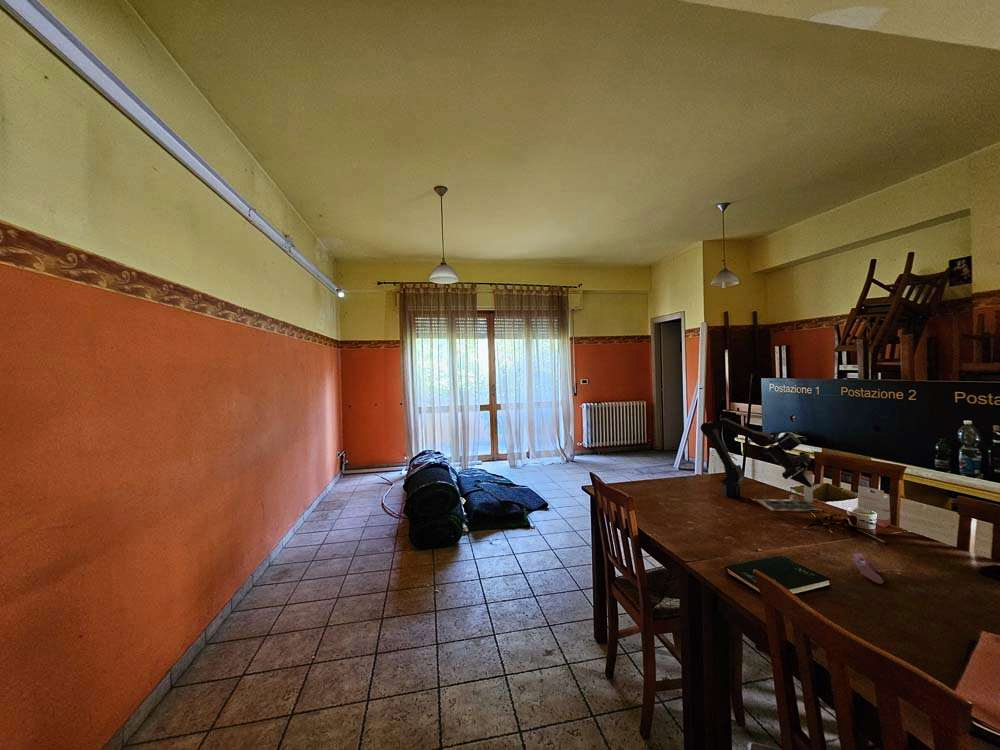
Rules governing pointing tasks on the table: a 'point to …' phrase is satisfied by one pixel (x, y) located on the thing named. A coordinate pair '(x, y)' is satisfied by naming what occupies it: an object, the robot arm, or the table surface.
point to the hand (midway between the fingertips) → (812, 486)
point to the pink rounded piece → (867, 568)
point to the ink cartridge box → (875, 504)
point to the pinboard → (787, 504)
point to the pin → (808, 490)
